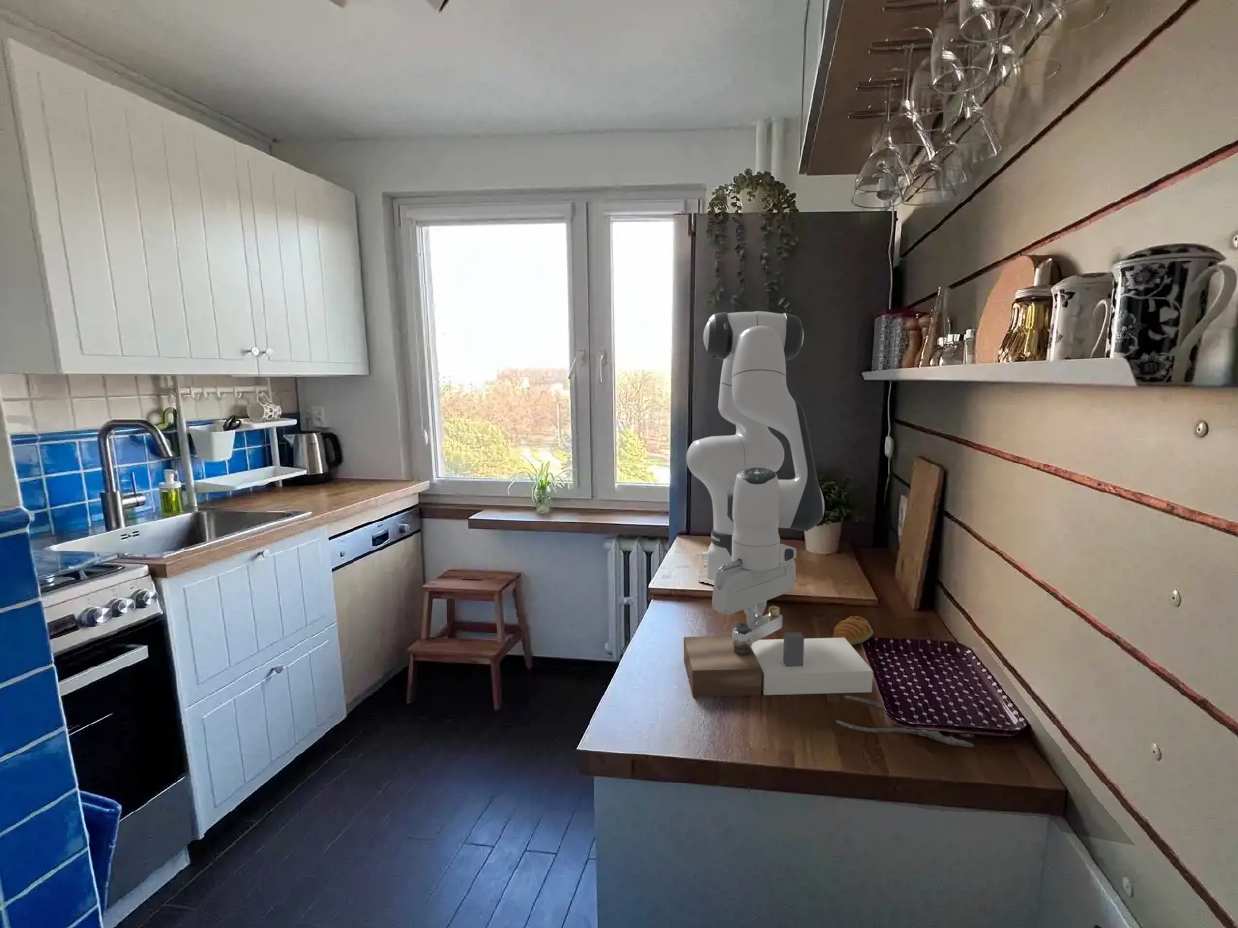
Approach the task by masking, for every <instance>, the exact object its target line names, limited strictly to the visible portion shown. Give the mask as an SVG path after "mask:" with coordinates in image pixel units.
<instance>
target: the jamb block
mask: <svg viewBox="0 0 1238 928" xmlns="http://www.w3.org/2000/svg"><path fill="white" fill-rule="evenodd" d="M683 663H684V666H685V667H684V668H685V672H686V674H687V679H689V680H688V683H689V687H690V691H691V695H692V697H693V698H704V697H705V698H707V697H709V698H710V697H711V698H713V697H741V696H742V697H744V696H748V697H749V696H762V690H761V675H762V668H761V666H760V664H759V662H758V660H757V658H756V656H755V654H754V652H753V650H752V648H751V647H749V648H738V647H735V646H734V645H733V644H732V635H708V636H683Z"/></svg>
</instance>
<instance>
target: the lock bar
mask: <svg viewBox="0 0 1238 928" xmlns="http://www.w3.org/2000/svg"><path fill="white" fill-rule="evenodd" d="M782 628H783V615H782V614H780V607H779V606H776V605H770V606H768V613H767V614H765V615H762V617H761V618H758V619H756V620H754V621H752V622H750V623H748V624H747V623H742V622H741V623H737V624H736V626H735V627H733V628H732V632H731V633H732V635H731V636H732V644H733V645H734V646H735V647H738V648H749V647H751V646H752V643H754V642H756V641H758V640H763V639H764V638H765V637H767V636H769V635H771V634H772V633H774V632H777V631H778V630H780V629H782Z"/></svg>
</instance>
